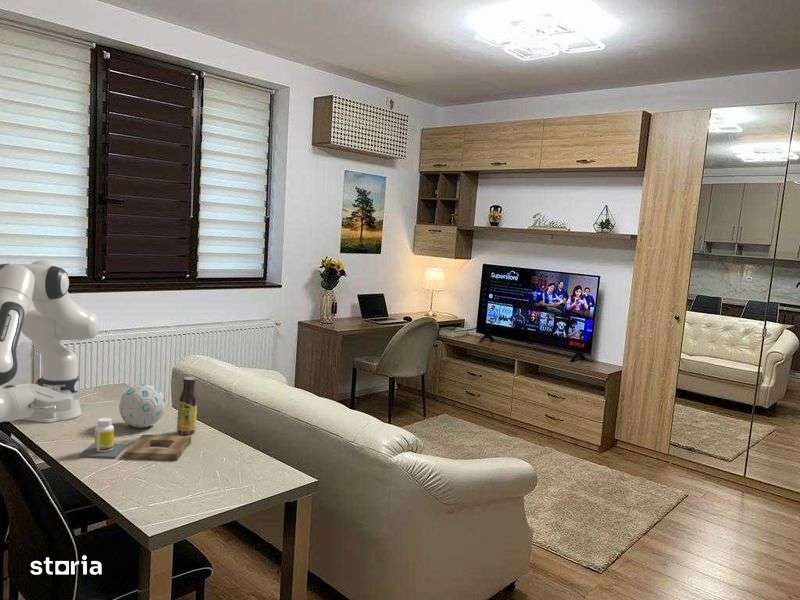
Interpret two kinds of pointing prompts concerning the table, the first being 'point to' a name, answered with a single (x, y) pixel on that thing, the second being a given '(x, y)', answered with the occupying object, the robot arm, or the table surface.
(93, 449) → the rubber mat
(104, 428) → the supplement bottle
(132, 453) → the socket block
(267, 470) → the table surface
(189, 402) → the sauce bottle
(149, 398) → the puzzle ball
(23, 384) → the robot arm
